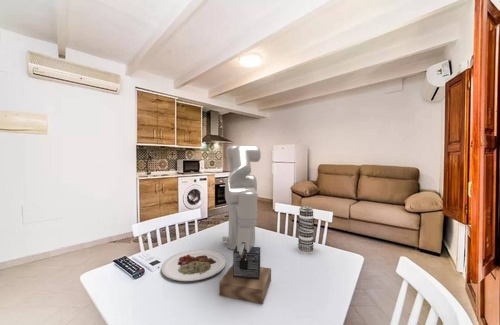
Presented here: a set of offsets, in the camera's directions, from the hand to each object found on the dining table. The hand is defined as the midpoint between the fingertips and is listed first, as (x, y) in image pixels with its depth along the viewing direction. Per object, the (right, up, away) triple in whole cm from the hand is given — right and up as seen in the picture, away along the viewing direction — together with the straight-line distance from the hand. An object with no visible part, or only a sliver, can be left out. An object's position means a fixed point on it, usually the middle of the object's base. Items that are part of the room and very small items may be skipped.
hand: (247, 263), depth 87 cm
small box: (0, -5, 0) cm, 5 cm away
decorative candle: (+33, -9, +35) cm, 49 cm away
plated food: (-25, -9, +17) cm, 32 cm away
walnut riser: (0, -9, 0) cm, 9 cm away
